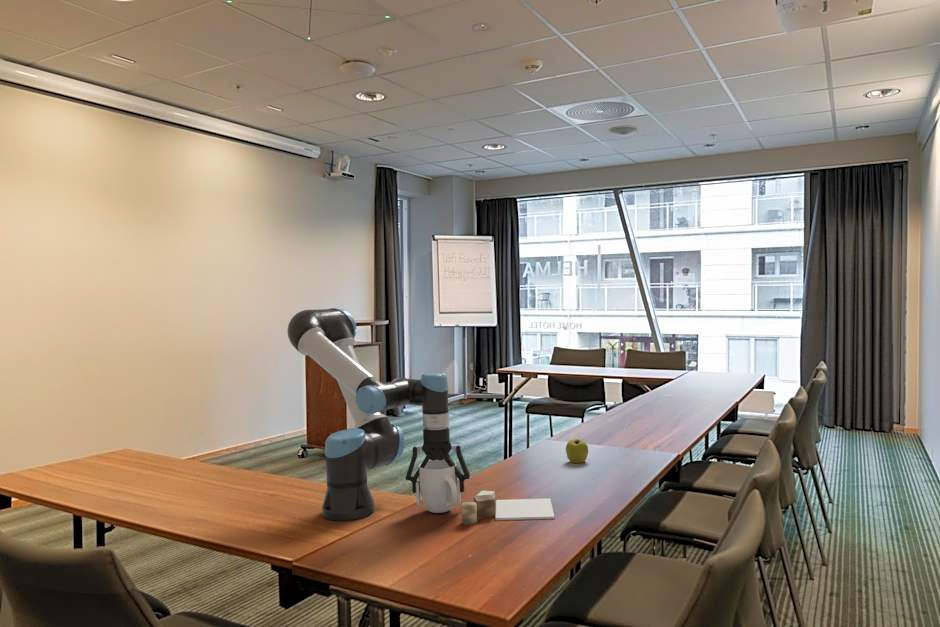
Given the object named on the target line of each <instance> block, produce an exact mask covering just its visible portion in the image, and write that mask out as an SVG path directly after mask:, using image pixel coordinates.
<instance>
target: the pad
mask: <svg viewBox="0 0 940 627" xmlns="http://www.w3.org/2000/svg"><path fill="white" fill-rule="evenodd" d="M552 504H553V503H552V500H551V498H549V497H548V498H520V499H519V498H518V499H516V498H515V499H512V498H511V499H495V512H496V517H495V521H513V520H515V521H518V520H519V521H520V520H522V521H523V520H551V519H553V520H554V519H555V513H554V510H553V505H552Z"/></svg>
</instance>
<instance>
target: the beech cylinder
mask: <svg viewBox="0 0 940 627" xmlns="http://www.w3.org/2000/svg"><path fill="white" fill-rule="evenodd" d="M461 518H462V519H461V520H462V522H461V523H462V524H463V525H466V526H471V525H472V526H473V525H475V524H477V523H478V518H477V506H476V503H475V502H474V501H465V502H462V503H461Z"/></svg>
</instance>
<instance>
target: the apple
mask: <svg viewBox="0 0 940 627" xmlns="http://www.w3.org/2000/svg"><path fill="white" fill-rule="evenodd" d="M565 454H566V457H567V459H568V460H569V462H570V463H573V464H577V463H578V464H581V463H584V462H585V461H586V460H587V458H588V455H589V446H588V444H587V443H586V442H585V441H584V440H583V439H580V436H578V438H574V439H570V440H569V441H568V442H567V443H566V446H565Z"/></svg>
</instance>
